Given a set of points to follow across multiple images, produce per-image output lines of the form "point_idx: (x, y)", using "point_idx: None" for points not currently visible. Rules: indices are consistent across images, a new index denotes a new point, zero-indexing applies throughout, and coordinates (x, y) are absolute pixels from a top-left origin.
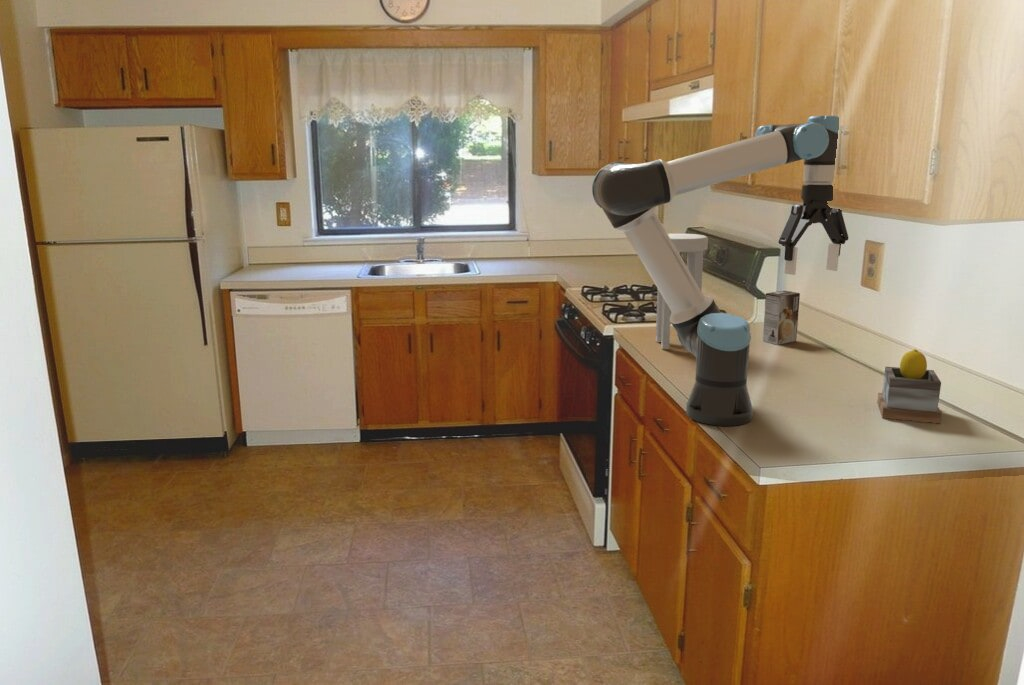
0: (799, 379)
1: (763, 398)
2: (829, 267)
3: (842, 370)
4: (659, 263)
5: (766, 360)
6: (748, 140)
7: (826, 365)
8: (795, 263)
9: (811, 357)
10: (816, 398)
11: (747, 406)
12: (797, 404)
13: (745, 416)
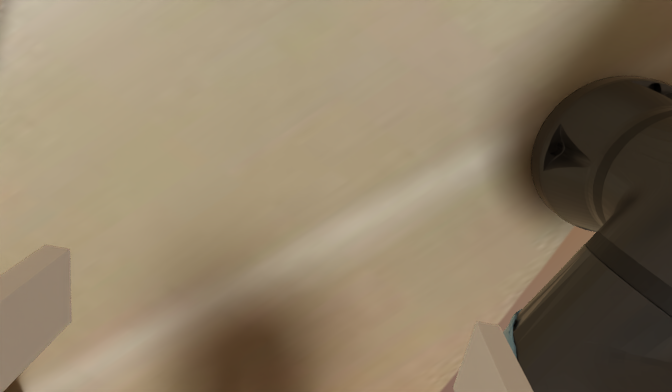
0: (212, 205)
1: (415, 168)
2: (59, 308)
3: (50, 185)
4: None
5: (152, 338)
6: None
7: (53, 234)
8: (515, 385)
9: None
10: (311, 88)
11: (632, 87)
12: (392, 89)
13: (636, 77)
